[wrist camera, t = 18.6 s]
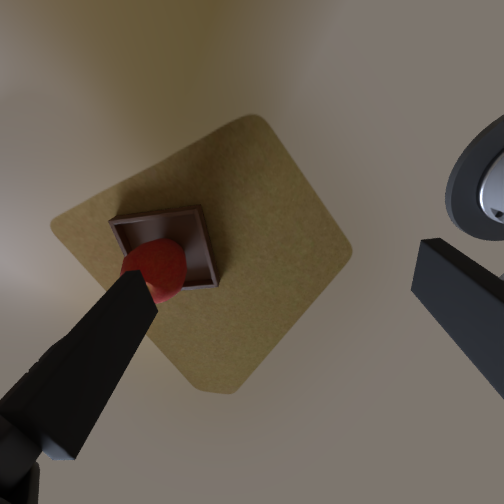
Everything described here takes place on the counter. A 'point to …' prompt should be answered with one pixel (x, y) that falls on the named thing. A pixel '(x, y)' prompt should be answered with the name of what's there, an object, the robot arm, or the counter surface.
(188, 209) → the tray
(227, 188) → the counter surface
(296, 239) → the counter surface
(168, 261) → the apple
